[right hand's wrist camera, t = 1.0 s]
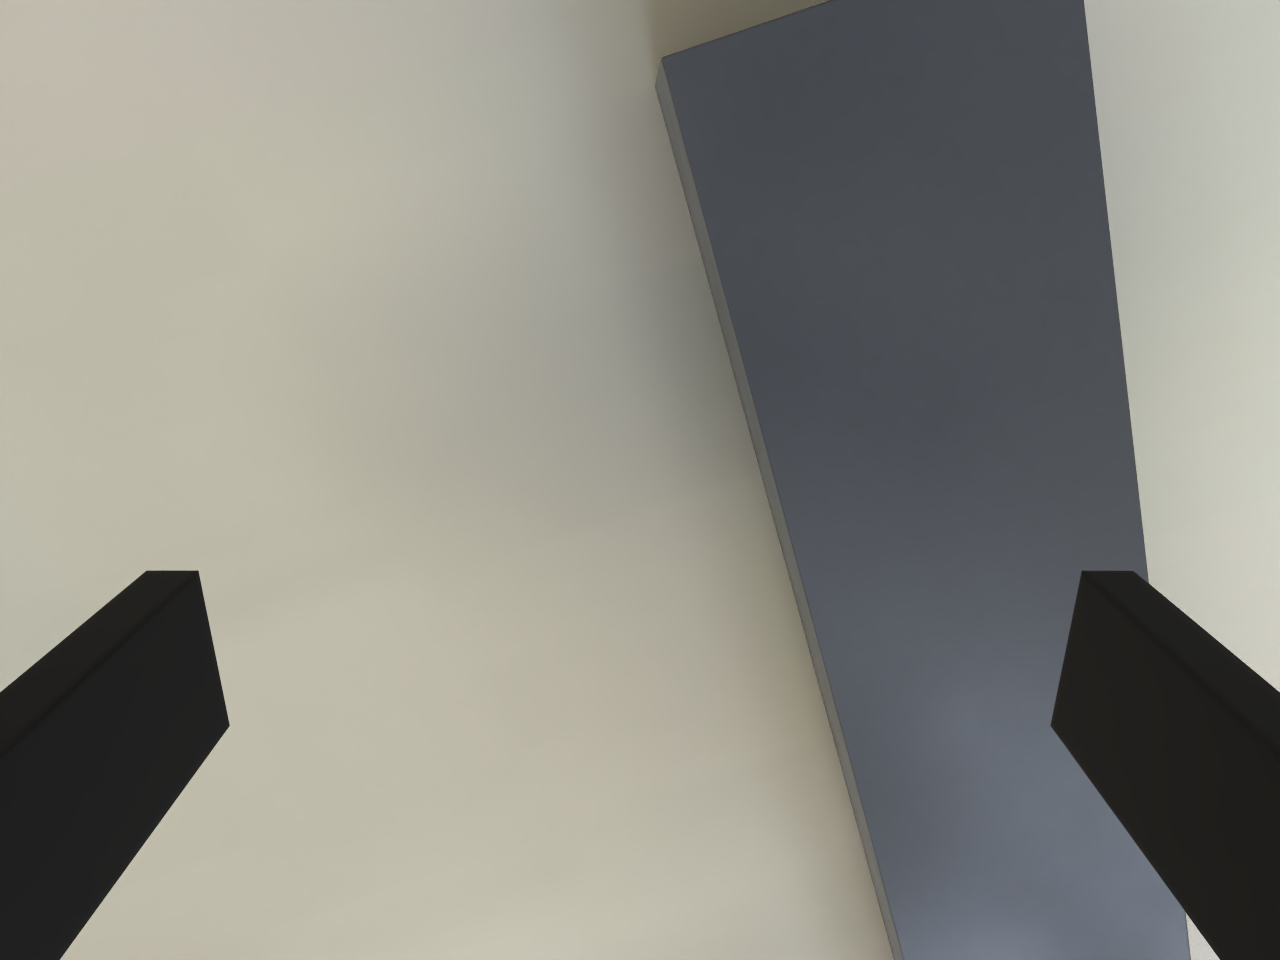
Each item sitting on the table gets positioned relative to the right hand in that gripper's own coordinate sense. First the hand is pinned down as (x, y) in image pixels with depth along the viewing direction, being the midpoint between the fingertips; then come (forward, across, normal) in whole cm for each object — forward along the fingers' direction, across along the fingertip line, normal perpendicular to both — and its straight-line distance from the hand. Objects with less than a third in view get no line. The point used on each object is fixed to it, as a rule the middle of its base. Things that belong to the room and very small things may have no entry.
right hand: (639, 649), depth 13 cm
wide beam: (+18, +14, -18) cm, 29 cm away
